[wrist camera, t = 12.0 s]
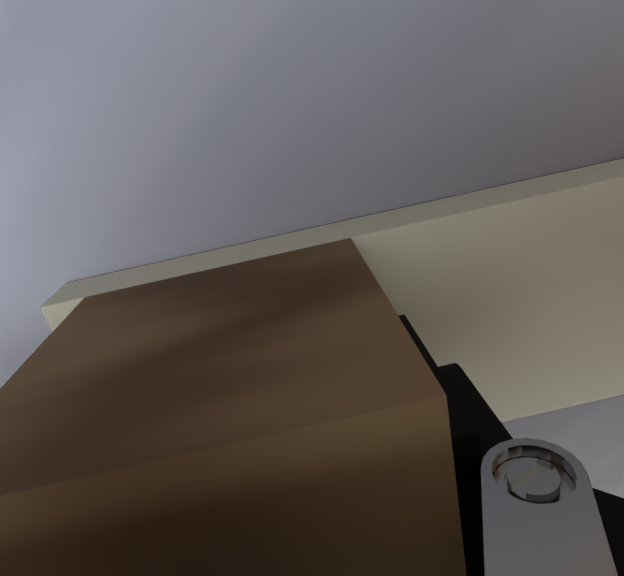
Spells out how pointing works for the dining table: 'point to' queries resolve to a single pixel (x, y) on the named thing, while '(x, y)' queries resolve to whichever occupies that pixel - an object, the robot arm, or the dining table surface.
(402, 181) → the dining table surface
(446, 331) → the cream strip
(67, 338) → the walnut cube
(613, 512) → the robot arm
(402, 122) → the dining table surface
